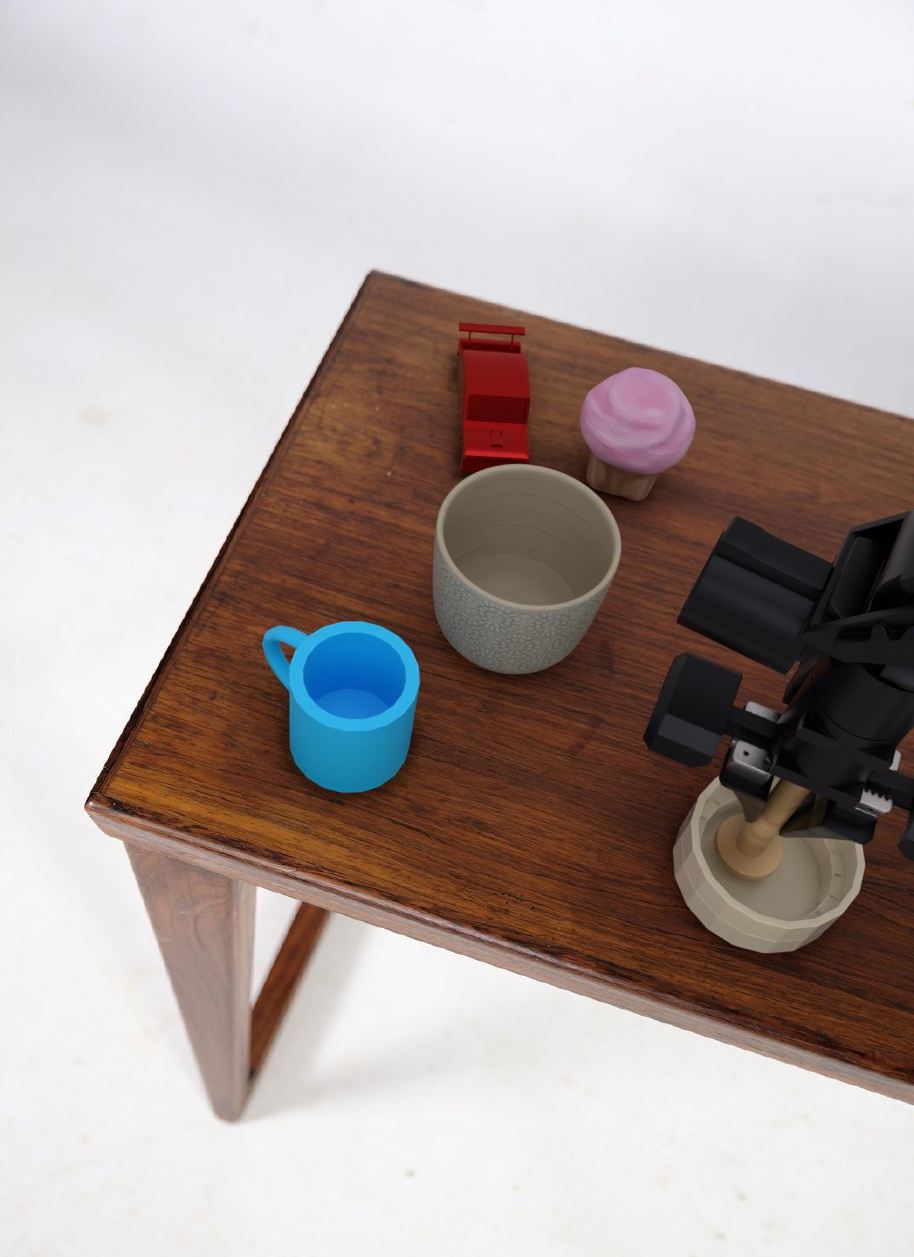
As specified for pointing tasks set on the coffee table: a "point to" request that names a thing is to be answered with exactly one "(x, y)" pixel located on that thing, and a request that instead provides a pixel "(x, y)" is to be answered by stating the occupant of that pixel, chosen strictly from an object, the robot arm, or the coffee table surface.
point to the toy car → (492, 398)
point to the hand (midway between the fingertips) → (766, 822)
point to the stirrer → (758, 835)
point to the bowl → (763, 881)
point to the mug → (347, 701)
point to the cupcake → (634, 431)
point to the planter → (521, 566)
